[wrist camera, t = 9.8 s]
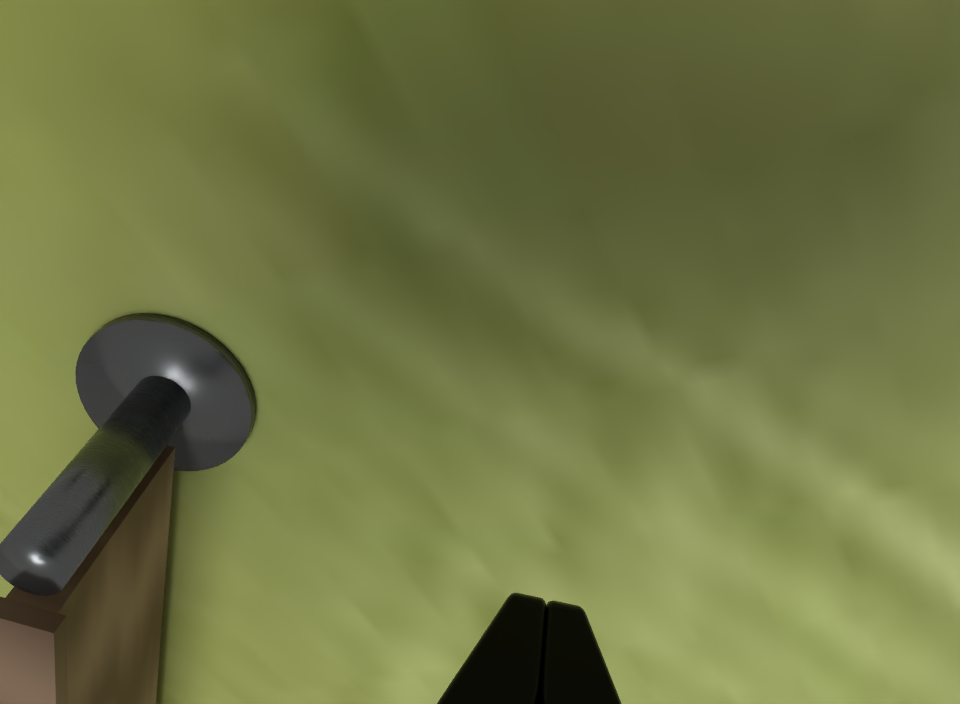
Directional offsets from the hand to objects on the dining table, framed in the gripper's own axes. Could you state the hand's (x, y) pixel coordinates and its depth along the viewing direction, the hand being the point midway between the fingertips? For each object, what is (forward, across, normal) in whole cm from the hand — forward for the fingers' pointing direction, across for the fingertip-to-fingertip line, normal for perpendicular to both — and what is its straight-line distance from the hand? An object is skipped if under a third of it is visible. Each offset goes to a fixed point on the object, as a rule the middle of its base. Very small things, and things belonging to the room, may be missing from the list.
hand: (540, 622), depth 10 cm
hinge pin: (+12, +10, +7) cm, 17 cm away
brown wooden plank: (+11, +11, +15) cm, 22 cm away
